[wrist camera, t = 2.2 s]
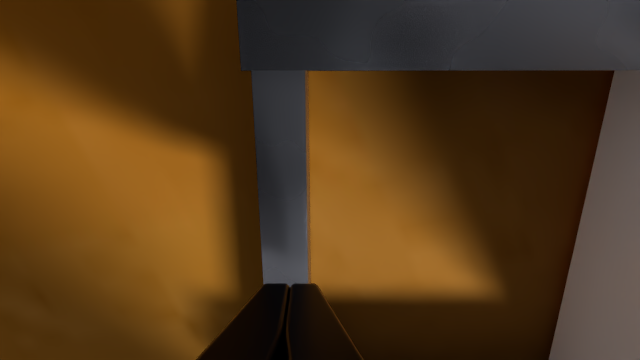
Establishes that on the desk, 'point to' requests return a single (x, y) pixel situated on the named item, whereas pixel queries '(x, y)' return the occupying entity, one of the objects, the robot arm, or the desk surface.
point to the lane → (394, 55)
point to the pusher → (607, 242)
